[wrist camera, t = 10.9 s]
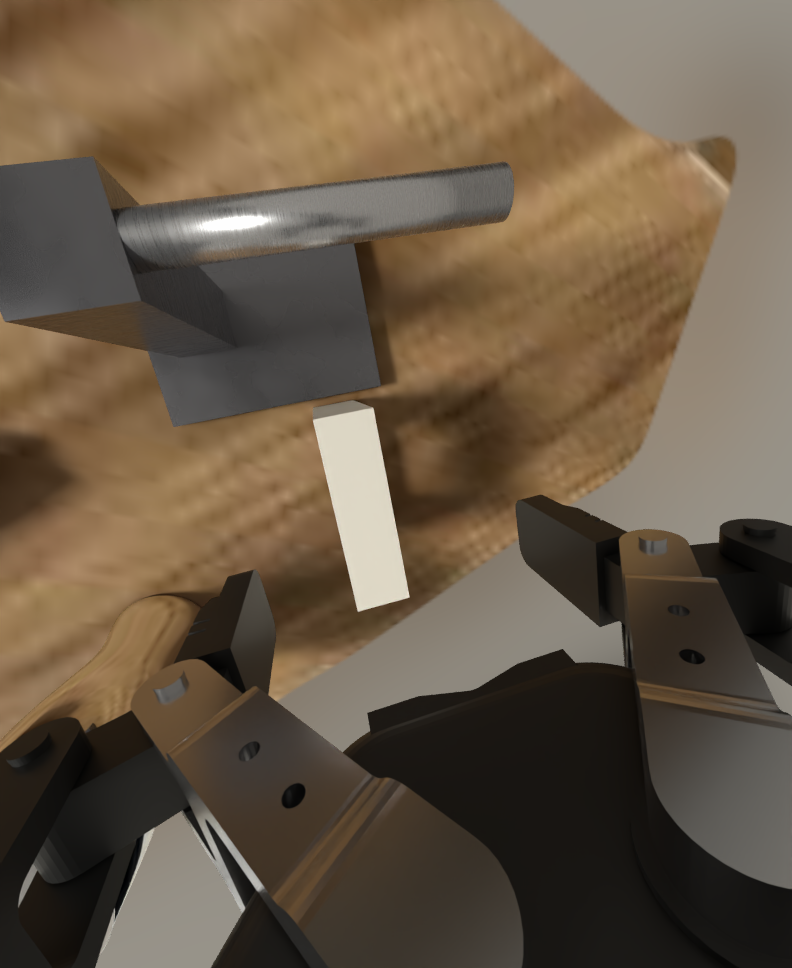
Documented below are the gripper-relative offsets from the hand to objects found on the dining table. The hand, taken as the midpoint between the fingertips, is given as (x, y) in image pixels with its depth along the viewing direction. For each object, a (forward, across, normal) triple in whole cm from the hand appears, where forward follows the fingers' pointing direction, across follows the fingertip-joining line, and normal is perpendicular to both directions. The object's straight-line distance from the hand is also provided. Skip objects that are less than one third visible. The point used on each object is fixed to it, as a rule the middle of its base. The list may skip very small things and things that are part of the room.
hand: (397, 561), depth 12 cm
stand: (+15, +2, -9) cm, 18 cm away
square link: (+15, 0, 0) cm, 15 cm away
